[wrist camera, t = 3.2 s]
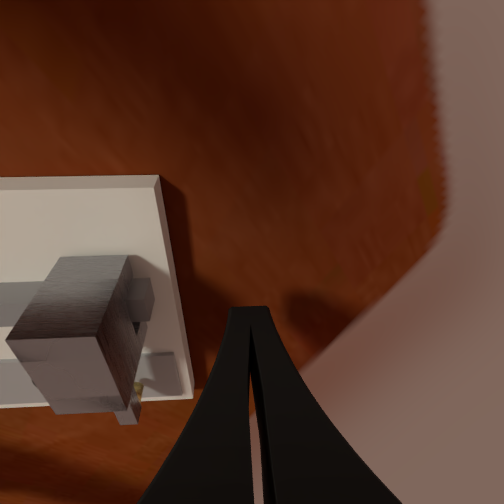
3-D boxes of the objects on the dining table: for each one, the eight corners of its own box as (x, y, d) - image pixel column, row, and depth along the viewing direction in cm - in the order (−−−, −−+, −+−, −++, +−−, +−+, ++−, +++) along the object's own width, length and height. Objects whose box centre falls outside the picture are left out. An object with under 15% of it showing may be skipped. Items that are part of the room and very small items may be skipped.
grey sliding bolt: (163, 383, 17) (149, 462, 14) (115, 385, 17) (92, 465, 14) (127, 255, 12) (94, 336, 9) (59, 256, 12) (5, 340, 9)
